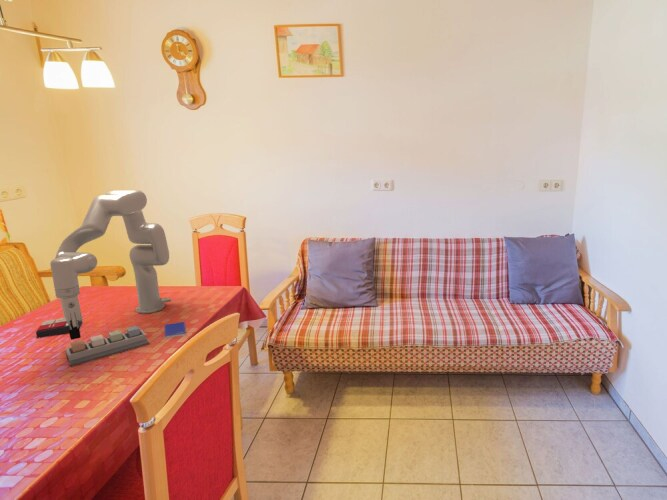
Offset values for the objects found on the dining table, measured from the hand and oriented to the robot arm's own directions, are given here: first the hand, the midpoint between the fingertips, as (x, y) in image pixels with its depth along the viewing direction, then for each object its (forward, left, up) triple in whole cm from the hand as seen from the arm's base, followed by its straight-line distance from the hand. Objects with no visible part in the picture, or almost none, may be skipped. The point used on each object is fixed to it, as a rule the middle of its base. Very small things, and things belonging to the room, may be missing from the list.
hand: (75, 338), depth 159 cm
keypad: (-10, 0, -8) cm, 13 cm away
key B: (0, 0, -5) cm, 5 cm away
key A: (-13, 0, -5) cm, 14 cm away
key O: (-7, 0, -5) cm, 8 cm away
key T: (-20, 0, -5) cm, 20 cm away
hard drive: (-36, +1, -8) cm, 37 cm away
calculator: (+2, -33, -8) cm, 34 cm away
